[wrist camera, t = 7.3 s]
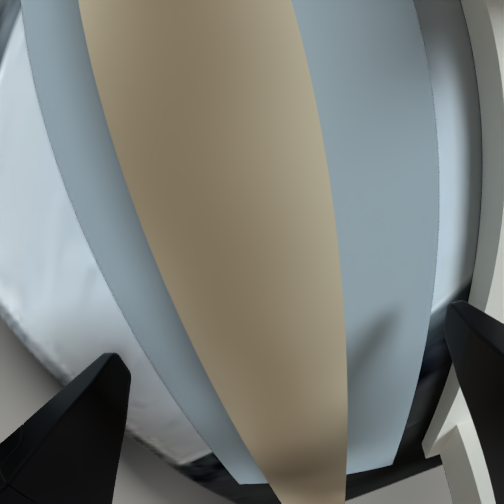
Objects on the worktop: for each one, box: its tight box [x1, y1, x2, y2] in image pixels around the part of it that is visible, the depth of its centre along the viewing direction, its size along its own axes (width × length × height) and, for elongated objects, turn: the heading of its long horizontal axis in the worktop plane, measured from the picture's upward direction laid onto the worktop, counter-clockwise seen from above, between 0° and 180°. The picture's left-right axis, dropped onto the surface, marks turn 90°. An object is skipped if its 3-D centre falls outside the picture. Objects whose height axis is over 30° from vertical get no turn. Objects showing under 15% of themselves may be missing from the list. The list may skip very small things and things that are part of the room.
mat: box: [21, 0, 439, 484], centre depth 10 cm, size 10×30×1 cm, turn 13°
